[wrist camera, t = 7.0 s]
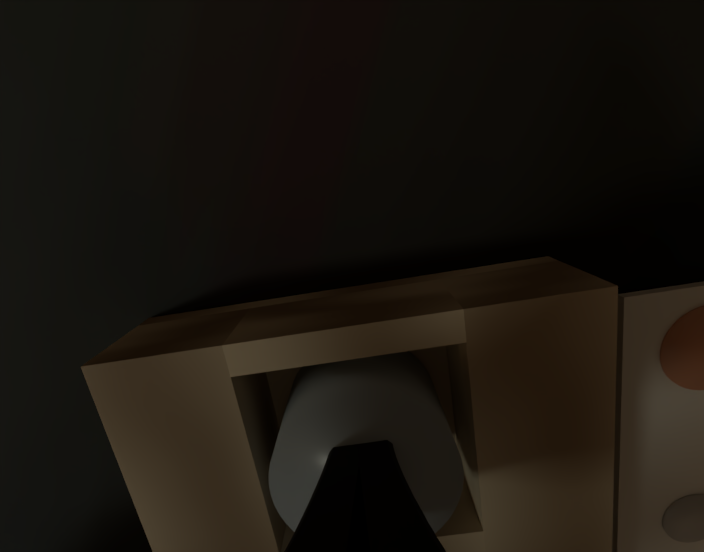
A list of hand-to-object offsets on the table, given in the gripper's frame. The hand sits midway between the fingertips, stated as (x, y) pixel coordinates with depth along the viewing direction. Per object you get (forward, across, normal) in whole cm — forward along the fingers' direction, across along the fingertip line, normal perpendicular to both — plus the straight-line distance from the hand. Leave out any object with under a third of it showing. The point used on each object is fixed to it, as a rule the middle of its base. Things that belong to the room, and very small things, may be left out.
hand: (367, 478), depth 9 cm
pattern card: (+4, -10, +6) cm, 13 cm away
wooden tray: (+4, 0, +6) cm, 7 cm away
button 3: (+3, 0, 0) cm, 3 cm away
